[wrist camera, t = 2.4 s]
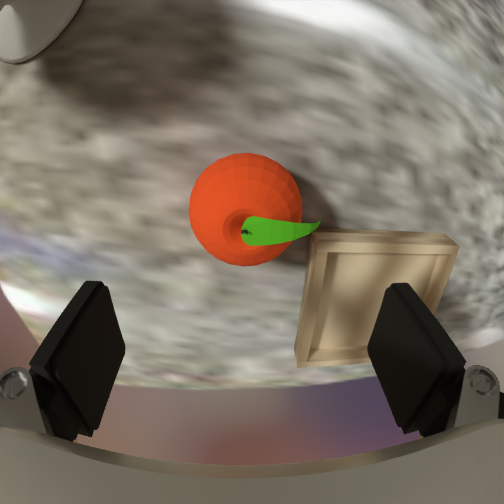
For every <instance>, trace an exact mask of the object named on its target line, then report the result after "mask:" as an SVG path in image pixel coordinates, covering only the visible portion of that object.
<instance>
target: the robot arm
mask: <svg viewBox="0 0 504 504" xmlns="http://www.w3.org/2000/svg"><path fill="white" fill-rule="evenodd" d="M367 352H368V355H369V358H370V360H371V362H372V365H373V367H374V369H375V372H376V374H377V377H378V379H379V381H380V383H381V386H382V388H383V391H384V393H385V396H386V398H387V401H388V403H389V406H390V408H391V411H392V414H393V416H394V419H395V421H396V424H397V426H399V427H401V428H402V430H403V433H404V434H407V433H411V432H414V431H417V430H419V432H420V437H419V439H418V440H415V441H411V442H407V443H404V444H400V445H397V446H393V447H389V448H385V449H380V450H376V451H372V452H367V453H362V454H357V455H352V456H346V457H340V458H334V459H327V460H319V461H311V462H301V463H290V464H275V465H208V464H192V463H181V462H172V461H163V460H156V459H148V458H143V457H136V456H131V455H126V454H121V453H116V452H111V451H107V450H103V449H98V448H94V447H90V446H86V445H82V444H78V443H77V441H76V438H77V435H78V434H81V435H85V436H88V437H92V435H93V431H94V430H97V429H98V428H99V425H100V422H101V419H102V416H103V413H104V410H105V406H106V404H107V401H108V398H109V395H110V392H111V389H112V387H113V384H114V381H115V379H116V376H117V373H118V371H119V368H120V365H121V363H122V360H123V357H124V355H125V343H124V340H123V337H122V334H121V331H120V328H119V324H118V321H117V317H116V314H115V311H114V307H113V303H112V300H111V296H110V292H109V289H108V287H107V286H104V284H103V282H101V281H85V282H84V284H83V285H82V286H81V288H80V289H79V290H78V292H77V293H76V294H75V296H74V297H73V298H72V300H71V301H70V302H69V304H68V305H67V307H66V308H65V309H64V311H63V312H62V314H61V315H60V317H59V318H58V319H57V321H56V322H55V324H54V325H53V327H52V328H51V330H50V331H49V333H48V334H47V336H46V337H45V339H44V340H43V342H42V343H41V345H40V347H39V348H38V350H37V351H36V353H35V355H34V356H33V358H32V359H31V361H30V363H29V364H30V366H31V369H30V370H29V372H28V371H27V370H26V369H24V368H22V367H13V368H10V369H8V370H6V371H4V372H3V373H2V374H1V375H0V504H504V393H502V392H500V385H499V381H498V379H497V377H496V375H495V374H494V373H493V372H492V371H491V370H489V369H488V368H486V367H484V366H480V365H474V366H471V367H469V368H468V369H467V370H465V369H464V365H465V363H466V360H465V359H464V357H463V356H462V354H461V353H460V351H459V350H458V349H457V347H456V346H455V344H454V343H453V341H452V340H451V338H450V337H449V336H448V334H447V333H446V331H445V330H444V329H443V327H442V326H441V325H440V323H439V322H438V321H437V319H436V318H435V317H434V315H433V314H432V313H431V311H430V310H429V309H428V307H427V306H426V305H425V303H424V302H423V301H422V300H421V298H420V297H419V296H418V294H417V293H416V292H415V291H414V289H413V288H412V287H411V286H410V284H408V283H406V282H405V283H392V284H391V285H390V287H388V288H387V289H386V290H385V293H384V297H383V300H382V303H381V307H380V310H379V313H378V316H377V319H376V322H375V325H374V328H373V331H372V334H371V337H370V340H369V342H368V346H367Z"/></svg>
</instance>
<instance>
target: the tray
mask: <svg viewBox="0 0 504 504" xmlns="http://www.w3.org/2000/svg"><path fill="white" fill-rule="evenodd" d="M458 249H459V245H457V244H456V243H455V242H454V241H453V240H451V239H450V238H449V237H448V236H447V235H445V234H438V233H422V232H404V231H384V230H362V229H337V228H316V229H315V230H314V231H313V232H311V236H310V244H309V252H308V260H307V268H306V275H305V283H304V290H303V297H302V304H301V310H300V317H299V323H298V329H297V335H296V341H295V347H294V351H295V357H296V363H297V368H303V367H322V366H337V365H349V364H359V363H369V362H371V360H370V358H369V355H368V352H367V346H368V342H369V340H370V337H371V334H372V331H373V328H374V325H375V322H376V319H377V316H378V313H379V310H380V307H381V303H382V300H383V297H384V293H385V290H386V289H387V288H388V287H390V285H391V284H392V283H405V282H406V283H408V284H410V286H411V287H412V288H413V289H414V291H415V292H416V293H417V294H418V296H419V297H420V298H421V300H422V301H423V302H424V303H425V305H426V306H427V307H428V309H429V310H430V311H431V313H432V314H433V315H434V314H435V312H436V309H437V307H438V305H439V302H440V300H441V297H442V295H443V292H444V290H445V287H446V284H447V282H448V279H449V276H450V273H451V270H452V267H453V264H454V261H455V258H456V255H457V252H458Z"/></svg>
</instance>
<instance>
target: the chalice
mask: <svg viewBox="0 0 504 504" xmlns="http://www.w3.org/2000/svg"><path fill="white" fill-rule="evenodd" d="M82 2H83V0H0V60H1V61H3V62H4V63H10V64H15V63H21V62H24V61H26V60H28V59H30V58H33V57H34V56H35V55H37V54H38V53H40V52H41V51H43V50H44V49H45V48H46V47H47V46H48V45H50V44H51V43H52V42H53V41H54V40H55V39H56V38H57V37H58V36H59V35H60V33H61V32H62V31H63V30H64V29H65V28H66V27H67V25H68V24H69V22H70V21H71V20H72V18H73V17H74V15H75V14H76V12H77V11H78V9H79V7H80V5H81V3H82Z"/></svg>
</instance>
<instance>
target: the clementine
mask: <svg viewBox="0 0 504 504" xmlns="http://www.w3.org/2000/svg"><path fill="white" fill-rule="evenodd" d="M189 217H190V223H191V227H192V229H193V231H194V234H195V236H196V238H197V239H198V241H199V242H200V243H201V244H202V245H203V247H204V248H205V249H206V250H207V251H208V252H209V253H210V254H212V255H213V256H214V257H216V258H217V259H219V260H221V261H224V262H226V263H228V264H232V265H238V266H254V265H259V264H262V263H265V262H269V261H270V260H272V259H274V258H275V257H277V256H279V255H280V254H281V253H282V252H283V251H284V250H285V249H286V248H287V247H288V246H289V245H290V244H291V243H292V241H293V240H295V239H298V238H301V237H303V236H305V235H308V234H310V233H311V232H313V231H314V230H315V229H316V228H318V226H319V224H320V222H321V220H320V221H319V222H318V223H301V220H302V199H301V195H300V192H299V189H298V185H297V184H296V182H295V180H294V179H293V177H292V176H291V174H290V173H289V172H288V171H287V170H286V169H285V168H284V167H282V166H281V165H280V164H279V163H278V162H276V161H274V160H271V159H269V158H267V157H265V156H262V155H257V154H252V153H242V154H233V155H230V156H227V157H225V158H222V159H219V160H217V161H216V162H215V163H213V164H212V165H210V166H209V167H208V168H206V169H205V170H204V172H203V173H202V174H201V175H200V177H199V178H198V179H197V181H196V183H195V185H194V188H193V190H192V192H191V197H190V205H189Z"/></svg>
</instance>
